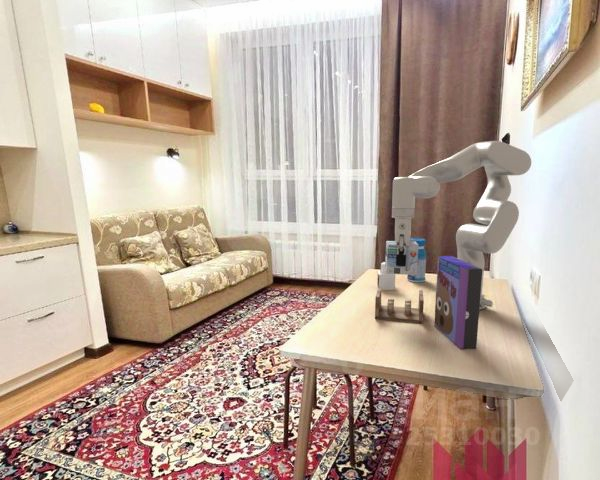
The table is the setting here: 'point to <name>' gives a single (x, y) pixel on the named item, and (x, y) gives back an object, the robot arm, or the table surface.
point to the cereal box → (458, 301)
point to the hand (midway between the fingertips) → (401, 262)
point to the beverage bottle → (419, 262)
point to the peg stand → (399, 310)
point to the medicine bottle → (385, 278)
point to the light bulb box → (410, 259)
